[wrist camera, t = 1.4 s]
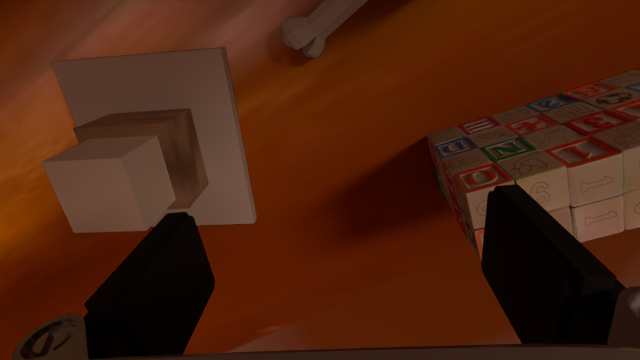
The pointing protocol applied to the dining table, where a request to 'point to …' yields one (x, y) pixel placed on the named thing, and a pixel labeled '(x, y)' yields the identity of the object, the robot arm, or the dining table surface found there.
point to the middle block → (111, 184)
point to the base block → (174, 143)
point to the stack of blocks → (551, 159)
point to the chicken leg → (317, 25)
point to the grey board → (165, 94)
